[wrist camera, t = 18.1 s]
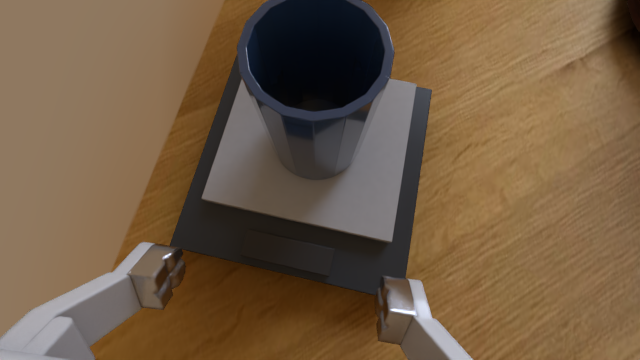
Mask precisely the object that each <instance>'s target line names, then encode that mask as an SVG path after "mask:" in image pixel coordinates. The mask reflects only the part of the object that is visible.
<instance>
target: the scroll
mask: <svg viewBox="0 0 640 360" xmlns="http://www.w3.org/2000/svg"><path fill="white" fill-rule="evenodd" d="M627 3H628V9H629V12H630V15H631V18H632V20H633V22H634V24H635V26H636V28H637V29H638V31H639V32H640V0H627Z"/></svg>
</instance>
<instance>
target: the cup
mask: <svg viewBox="0 0 640 360" xmlns="http://www.w3.org/2000/svg"><path fill="white" fill-rule="evenodd" d="M237 54H238V62H239V71H240V75H241V77H242V80H243V82H244V84H245V87H246V89H247V91H248V93H249V96H250V98H251V100H252V103H253V105H254V107H255V109H256V112H257V114H258V116H259V118H260V121H261V123H262V125H263V128H264V130H265V132H266V134H267V137H268V139H269V141H270V144H271V146H272V148H273V150H274V152H275V154H276V155H277V157H278V159H279V161H280V162H281V163H282V165H283V166H284V167H285V168H286V169H287V170H289V171H290V172H291V173H293V174H295V175H297V176H299V177H301V178H305V179H310V180H324V179H328V178H332V177H334V176H337V175H339V174H340V173H342V172H343V171H345V170H346V169H347V168H348V167H349V166H350V165H351V164H352V162H353V161H354V159H355V158H356V156H357V154H358V153H359V151H360V148H361V146H362V144H363V141H364V139H365V136H366V134H367V131H368V129H369V127H370V124H371V122H372V119H373V117H374V115H375V112H376V110H377V107H378V105H379V103H380V100H381V98H382V95H383V93H384V91H385V88H386V86H387V83H388V81H389V78H390V75H391V69H392V64H393V59H394V47H393V44H392V40H391V37H390V33H389V30H388V27H387V25H386V24H385V22H384V21H383V20H382V19H381V18H380V16H379V15H378V14H377V13H376V12H375V10H374V9H373V8H372V7H371V6H370V5H369V4H367V3H365V2H363V1H362V0H268V1H266V2H265V3H263V4H262V5H261V6H260V8H259V9H258V10H257V11H256V12H255V13H254V14H253V15H252V16H251V17H250V18H249V19H248V20H247V21H246V23H245V26H244V28H243V31H242V34H241V37H240V40H239V43H238V45H237Z"/></svg>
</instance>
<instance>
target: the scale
mask: <svg viewBox="0 0 640 360" xmlns="http://www.w3.org/2000/svg"><path fill="white" fill-rule="evenodd" d="M431 92H432V90H431V89H426V88H421V87H416V84H414V83H409V82H404V81H399V80H394V79H389V81H388V83H387V86H386V88H385V91H384V93H383V95H382V98H381V100H380V103H379V105H378V107H377V110H376V112H375V115H374V117H373V119H372V122H371V124H370V127H369V129H368V131H367V134H366V136H365V139H364V141H363V144H362V146H361V148H360V151H359V153H358V154H357V156H356V158H355V159H354V161H353V162H352V164H351V165H350V166H349V167H348V168H347V169H346V170H345V171H343V172H342V173H340V174H339V175H337V176H334V177H332V178H328V179H324V180H310V179H305V178H301V177H299V176H297V175H295V174H293V173H291V172H290V171H289V170H287V169H286V168H285V167H284V166H283V165H282V163H281V162H280V161H279V159H278V157H277V155H276V154H275V152H274V150H273V148H272V146H271V144H270V141H269V139H268V137H267V134H266V132H265V130H264V128H263V125H262V123H261V121H260V118H259V116H258V114H257V112H256V109H255V107H254V105H253V103H252V100H251V98H250V96H249V93H248V91H247V89H246V87H245V84H244V82H243V80H242V77H241V75H240V71H239V62H238V54H237V56H236V59H235V61H234V64H233V67H232V70H231V73H230V76H229V78H228V81H227V84H226V87H225V90H224V93H223V96H222V98H221V101H220V104H219V107H218V110H217V113H216V115H215V118H214V121H213V124H212V127H211V130H210V132H209V135H208V138H207V141H206V144H205V147H204V149H203V152H202V155H201V158H200V161H199V164H198V166H197V169H196V172H195V175H194V178H193V181H192V183H191V186H190V189H189V192H188V195H187V198H186V200H185V203H184V206H183V209H182V212H181V215H180V217H179V220H178V223H177V226H176V229H175V232H174V235H173V237H172V240H171V243H170V246H173V247H179V248H182V249H183V250H187V251H192V252H196V253H200V254H204V255H208V256H213V257H217V258H221V259H225V260H229V261H234V262H238V263H242V264H246V265H250V266H254V267H259V268H263V269H267V270H271V271H275V272H280V273H284V274H288V275H292V276H296V277H301V278H305V279H309V280H313V281H317V282H322V283H326V284H330V285H334V286H338V287H342V288H347V289H351V290H355V291H359V292H363V293H368V294H372V295H376V291H377V289H378V288H380V279H381V277H382V275H383V276H391V277H399V278H405V277H406V270H407V263H408V256H409V249H410V242H411V235H412V227H413V220H414V213H415V206H416V199H417V192H418V185H419V178H420V170H421V163H422V156H423V149H424V142H425V135H426V128H427V121H428V114H429V106H430V99H431Z"/></svg>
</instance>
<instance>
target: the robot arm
mask: <svg viewBox="0 0 640 360" xmlns="http://www.w3.org/2000/svg"><path fill="white" fill-rule="evenodd" d="M182 255H183V252H182V248H179V247H173V246H167V245H161V244H155V243H148V242H142V243H140V244H138V246H137V247H136V248H135V249H134V250H133V251H132V252H131V253H130V254H129V255H128V256H127V257H126V258H125V259H124V261H123V262H122V263H121V264H120V265H119V266H118V267H117V268H116V269H115V270H114V271H113V272H112V273H106V274H104V275H102V276H100V277H98V278H96V279H94V280H92V281H90V282H88V283H86V284H84V285H81V286H79V287H77V288H76V289H73V290H71V291H69V292H67V293H65V294H63V295H61V296H59V297H57V298H55V299H53V300H51V301H49V302H47V303H45V304H42V305H41V306H38V307H36V308H34V309H32V310H30V311H29V312H28V313H27V314H26V315H25V316H24V317H22V319H20V320H19V321H18V322H17V323H16V324H15V325H14V326H13V327H12V328H10V329H9V330H8V331H7V332H6V333H5V334H4V335H3V336H2V337H1V338H0V360H95V356H94V354H93V353H92V351H91V349H90V348H89V347H90V346H91V345H93V344H94V343H96V342H97V341H98V340H100V339H101V338H102V337H104V336H105V335H106V334H108V333H109V332H111V331H112V330H113V329H115V328H116V327H117V326H119V325H120V324H121V323H123V322H124V321H126V320H127V319H128V318H130V317H131V316H132V315H134V314H135V313H136V312H138V311H139V310H141V307H142V308H151V309H159V310H164V308H165V307H166V305H167V304H168V302H169V301H170V299H171V297H172V296H173V292H172V289H174V288H176V287H177V286H179V285H180V283H181V281H182V280H183V277H184V274H185V269H186V266H185V262H184V261H183V260H182V259H181V257H182ZM375 314H376V315H377V316H378V321H377V324H376V326H377V336H378V341H381V342H386V343H392V344H398V345H400V347H401V348H402V350H403V352H404V353H405V355H406V356H407V358H408V360H473V359H472V358H471V357H470V356H469V355H468V353H467V352H466V351H465V350H464V349H463V348H462V347H461V346H460V345H459V344H458V342H457V341H456V340H455V339H454V338H453V337H452V336H451V335H450V334H449V333H448V331H447V330H446V329H445V328H444V327H443V326H442V325H441V324H440V323H439V322H438V320H437V319H432V315H431V312H430V308H429V305H428V301H427V298H426V295H425V291H424V288H423V284H422V282H421V281H420V280H413V279H406V278H399V277H391V276H383V275H382V277H381V279H380V288H378V289H377V291H376V296H375Z"/></svg>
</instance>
